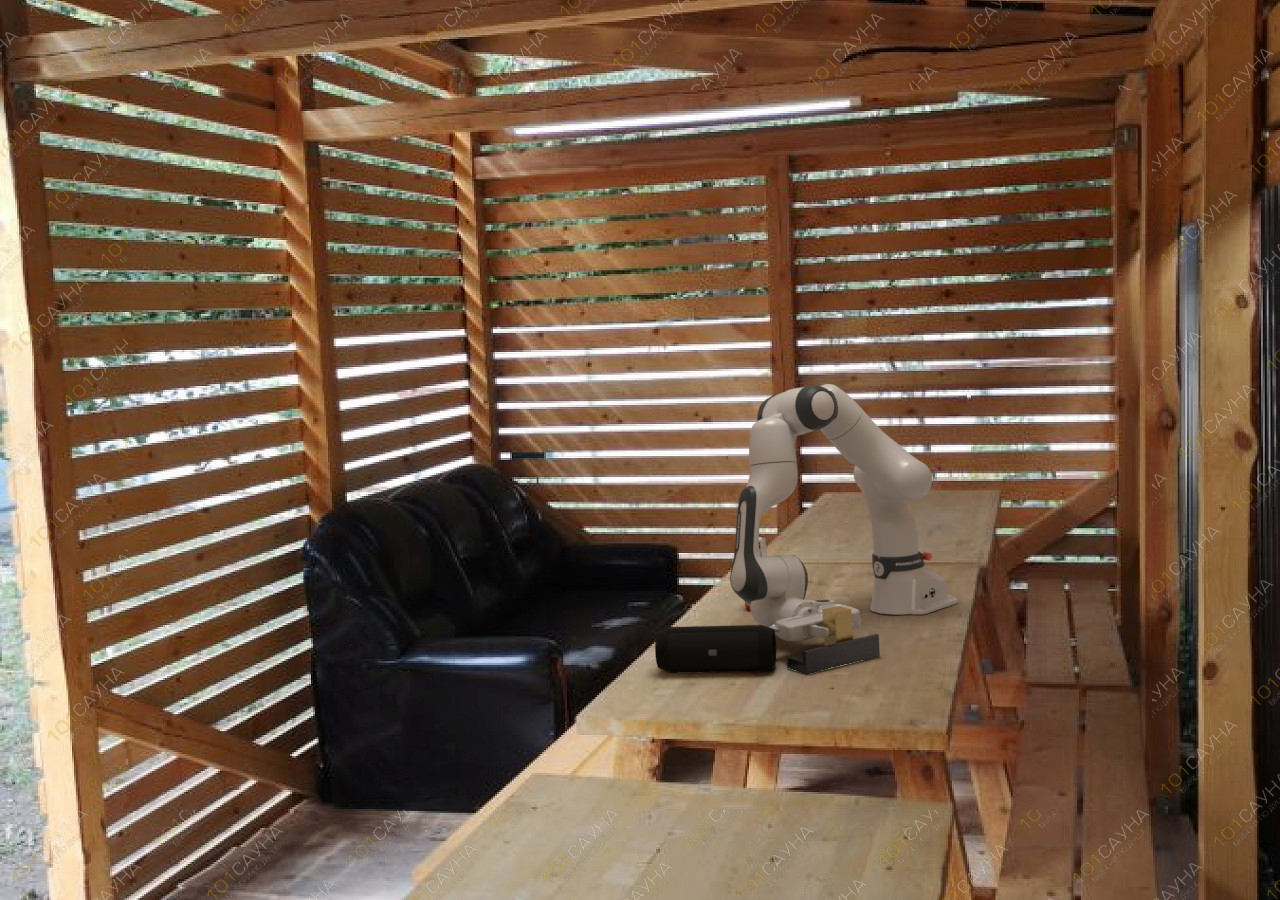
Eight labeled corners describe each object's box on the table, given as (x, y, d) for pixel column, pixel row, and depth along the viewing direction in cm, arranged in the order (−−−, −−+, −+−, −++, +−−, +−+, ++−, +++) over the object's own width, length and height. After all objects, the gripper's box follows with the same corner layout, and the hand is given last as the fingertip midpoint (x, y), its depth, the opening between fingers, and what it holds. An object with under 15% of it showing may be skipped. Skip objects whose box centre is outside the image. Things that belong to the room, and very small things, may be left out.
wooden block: (840, 650, 298) (838, 605, 297) (853, 653, 294) (851, 609, 293) (824, 653, 296) (822, 609, 295) (837, 657, 292) (835, 612, 291)
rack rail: (787, 668, 292) (785, 646, 291) (859, 650, 302) (858, 629, 301) (806, 675, 286) (805, 652, 285) (879, 656, 296) (878, 634, 295)
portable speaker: (656, 678, 292) (652, 633, 291) (664, 665, 302) (661, 622, 301) (773, 676, 287) (770, 631, 286) (777, 664, 297) (775, 619, 296)
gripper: (763, 614, 300) (801, 624, 288) (836, 598, 310) (875, 607, 298) (765, 641, 301) (803, 653, 289) (837, 624, 311) (876, 635, 299)
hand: (840, 630), depth 294 cm, fingers closed on wooden block, 4 cm apart
